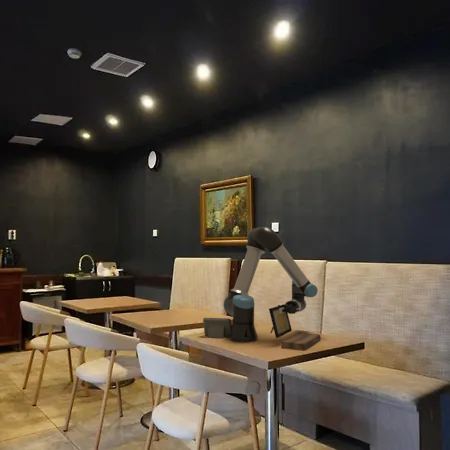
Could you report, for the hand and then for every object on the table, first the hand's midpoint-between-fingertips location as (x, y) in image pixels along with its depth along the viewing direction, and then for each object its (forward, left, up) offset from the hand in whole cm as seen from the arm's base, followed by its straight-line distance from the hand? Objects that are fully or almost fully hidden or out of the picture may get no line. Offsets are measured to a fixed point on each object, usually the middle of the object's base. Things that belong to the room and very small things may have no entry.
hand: (278, 311), depth 233 cm
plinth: (+13, 0, -16) cm, 21 cm away
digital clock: (-35, -3, -16) cm, 39 cm away
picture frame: (-1, +1, -12) cm, 13 cm away
